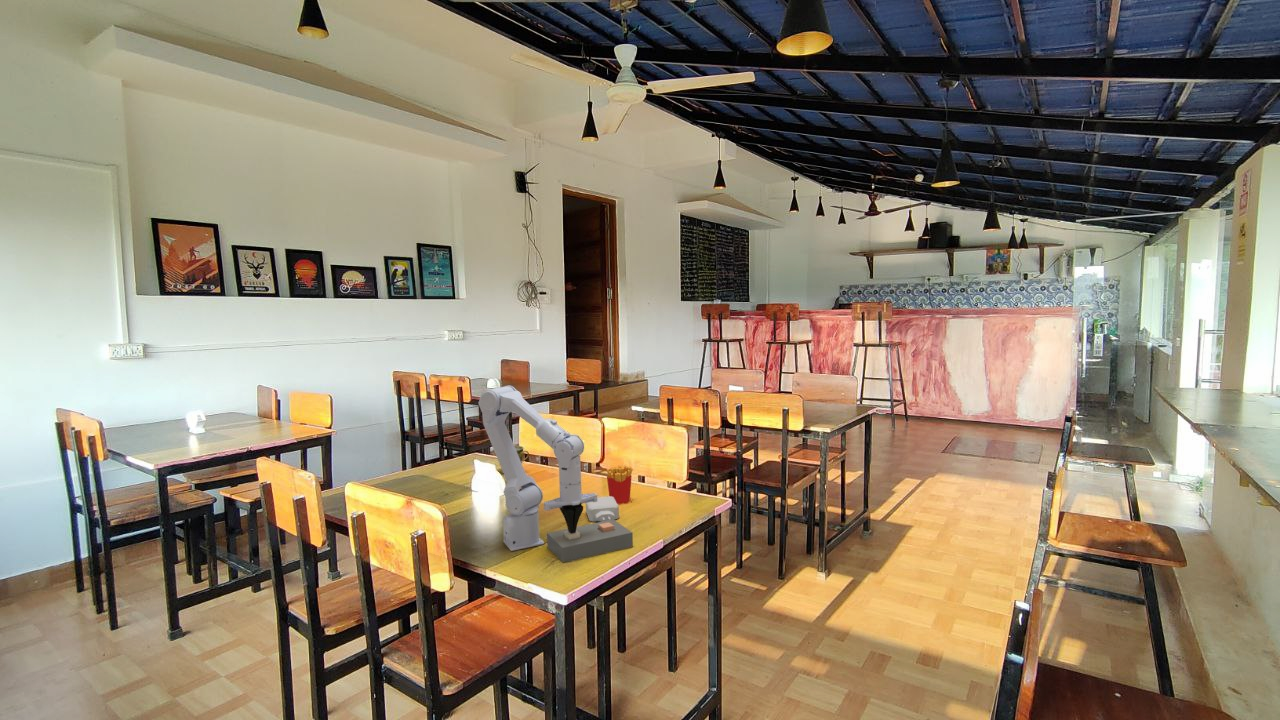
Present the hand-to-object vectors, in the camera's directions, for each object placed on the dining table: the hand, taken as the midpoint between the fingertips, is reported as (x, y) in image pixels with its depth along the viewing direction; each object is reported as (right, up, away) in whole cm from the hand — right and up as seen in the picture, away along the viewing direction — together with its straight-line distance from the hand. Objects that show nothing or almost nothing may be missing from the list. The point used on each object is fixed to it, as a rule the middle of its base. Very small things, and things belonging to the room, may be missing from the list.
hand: (571, 531), depth 164 cm
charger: (+7, -3, +25) cm, 26 cm away
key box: (+5, -5, +3) cm, 7 cm away
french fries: (+12, -2, +40) cm, 42 cm away
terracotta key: (+9, -2, +5) cm, 10 cm away
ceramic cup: (-31, +1, +79) cm, 85 cm away
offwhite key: (0, -3, 0) cm, 3 cm away
